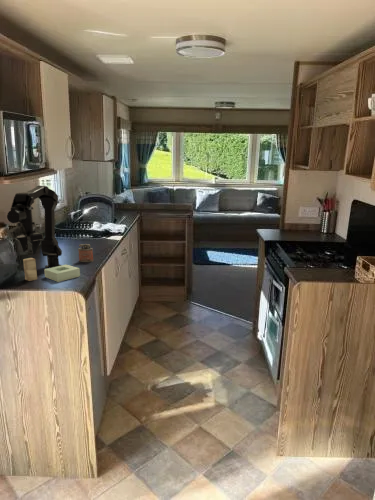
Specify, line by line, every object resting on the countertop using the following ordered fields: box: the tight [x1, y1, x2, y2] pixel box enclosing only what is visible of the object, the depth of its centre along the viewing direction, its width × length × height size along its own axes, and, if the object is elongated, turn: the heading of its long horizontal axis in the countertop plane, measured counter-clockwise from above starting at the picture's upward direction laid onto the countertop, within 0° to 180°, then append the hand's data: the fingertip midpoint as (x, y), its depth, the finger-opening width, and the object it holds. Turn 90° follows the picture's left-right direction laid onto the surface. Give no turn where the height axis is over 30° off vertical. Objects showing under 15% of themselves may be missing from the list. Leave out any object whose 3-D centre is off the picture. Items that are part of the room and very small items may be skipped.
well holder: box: [44, 264, 81, 283], centre depth 187 cm, size 12×12×4 cm
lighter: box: [77, 243, 94, 263], centre depth 216 cm, size 8×3×10 cm, turn 92°
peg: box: [22, 257, 38, 282], centre depth 183 cm, size 4×4×10 cm
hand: (29, 252), depth 181 cm, fingers open, 9 cm apart
